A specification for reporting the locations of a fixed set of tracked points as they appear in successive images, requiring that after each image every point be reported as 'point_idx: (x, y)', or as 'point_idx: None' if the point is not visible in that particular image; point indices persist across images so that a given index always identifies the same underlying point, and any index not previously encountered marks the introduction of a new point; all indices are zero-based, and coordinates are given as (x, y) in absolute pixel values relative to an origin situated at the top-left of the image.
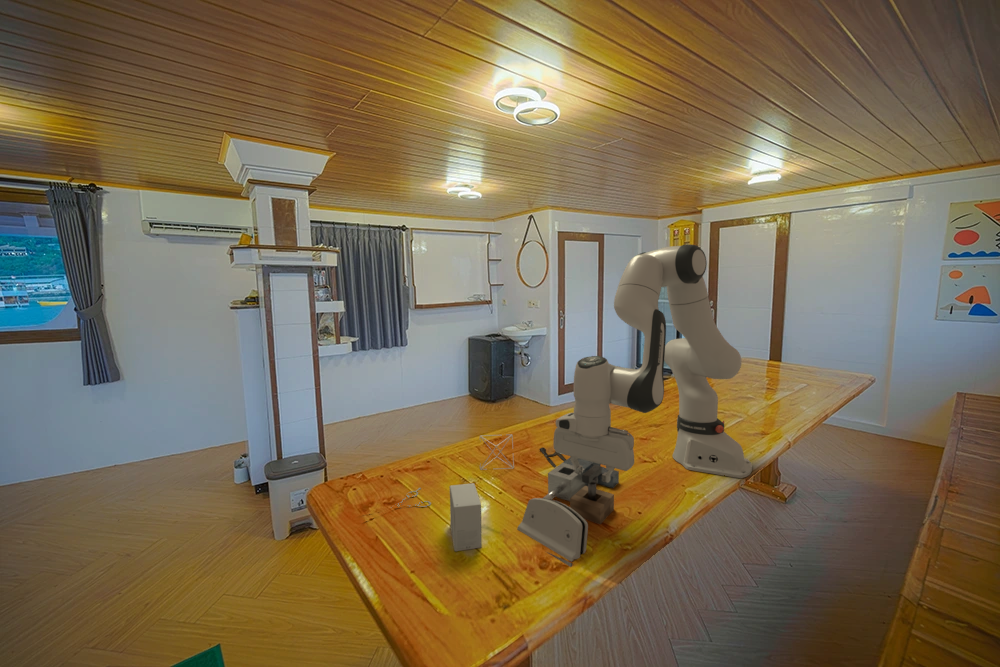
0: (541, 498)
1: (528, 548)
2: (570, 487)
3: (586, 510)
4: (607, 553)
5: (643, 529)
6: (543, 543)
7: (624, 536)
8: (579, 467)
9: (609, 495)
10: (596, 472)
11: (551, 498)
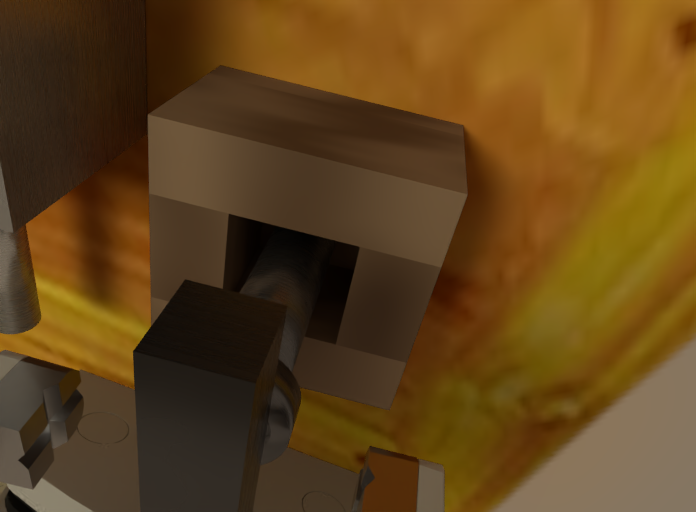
0: (34, 508)
1: None
2: (59, 195)
3: None
4: (466, 458)
5: (679, 252)
6: None
7: (545, 343)
8: (12, 468)
9: (426, 227)
10: (247, 471)
11: (31, 290)
